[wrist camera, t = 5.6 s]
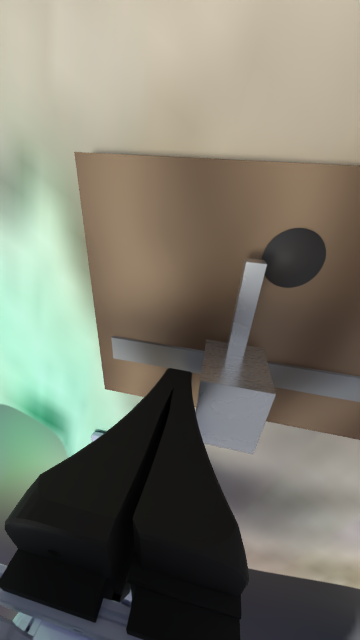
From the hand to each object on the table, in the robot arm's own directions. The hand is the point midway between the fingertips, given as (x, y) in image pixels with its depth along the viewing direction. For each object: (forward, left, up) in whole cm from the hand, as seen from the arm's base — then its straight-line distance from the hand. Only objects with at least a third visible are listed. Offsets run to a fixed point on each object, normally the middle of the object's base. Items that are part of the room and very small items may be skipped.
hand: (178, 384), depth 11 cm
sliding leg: (+3, +2, -2) cm, 4 cm away
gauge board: (+6, +3, -3) cm, 8 cm away
